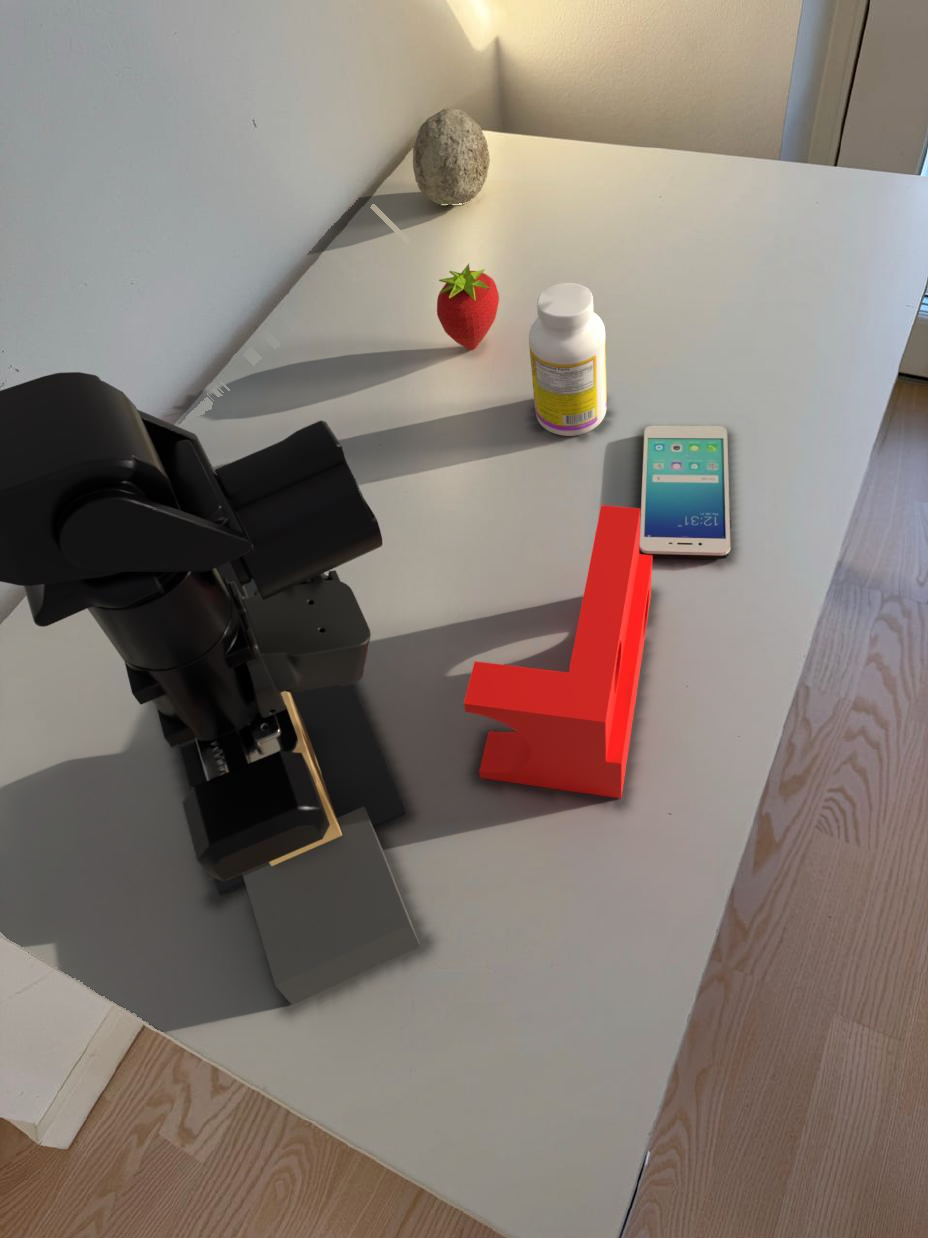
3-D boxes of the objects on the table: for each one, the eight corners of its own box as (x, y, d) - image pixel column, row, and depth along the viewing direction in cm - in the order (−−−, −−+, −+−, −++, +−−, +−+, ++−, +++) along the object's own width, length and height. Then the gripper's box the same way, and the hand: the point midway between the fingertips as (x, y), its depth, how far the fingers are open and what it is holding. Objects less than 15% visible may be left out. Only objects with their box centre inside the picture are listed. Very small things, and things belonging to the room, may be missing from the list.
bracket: (622, 724, 61) (463, 703, 64) (621, 798, 70) (480, 778, 72) (654, 509, 72) (516, 498, 74) (650, 596, 80) (526, 583, 82)
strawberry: (512, 327, 102) (504, 240, 94) (489, 375, 98) (478, 288, 90) (459, 321, 104) (446, 235, 96) (434, 368, 100) (418, 282, 92)
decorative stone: (479, 225, 114) (469, 140, 106) (410, 221, 116) (395, 137, 108) (503, 176, 119) (495, 92, 111) (436, 173, 122) (424, 90, 114)
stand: (420, 946, 65) (410, 925, 62) (291, 1005, 64) (274, 986, 61) (375, 831, 70) (364, 806, 67) (255, 883, 69) (238, 860, 66)
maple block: (318, 783, 63) (282, 674, 73) (243, 815, 62) (217, 700, 73) (342, 835, 66) (304, 723, 76) (270, 867, 65) (242, 749, 75)
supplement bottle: (559, 382, 96) (553, 266, 86) (619, 404, 93) (620, 287, 83) (521, 425, 93) (510, 310, 83) (582, 448, 91) (578, 332, 80)
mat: (406, 813, 71) (405, 811, 71) (219, 895, 69) (218, 893, 69) (265, 478, 93) (263, 475, 93) (121, 532, 91) (119, 529, 91)
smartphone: (728, 425, 89) (732, 553, 80) (727, 432, 89) (731, 560, 81) (643, 424, 90) (638, 551, 81) (643, 431, 91) (637, 558, 82)
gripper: (399, 706, 42) (448, 854, 55) (280, 439, 53) (343, 613, 66) (147, 810, 41) (256, 938, 53) (79, 514, 52) (182, 677, 64)
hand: (265, 775), depth 59 cm, fingers closed
